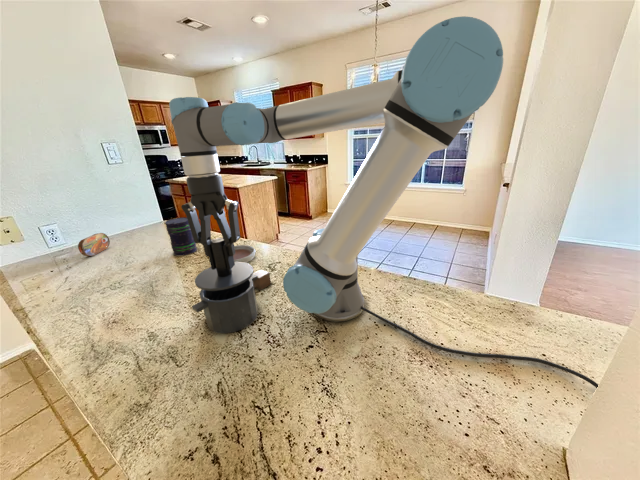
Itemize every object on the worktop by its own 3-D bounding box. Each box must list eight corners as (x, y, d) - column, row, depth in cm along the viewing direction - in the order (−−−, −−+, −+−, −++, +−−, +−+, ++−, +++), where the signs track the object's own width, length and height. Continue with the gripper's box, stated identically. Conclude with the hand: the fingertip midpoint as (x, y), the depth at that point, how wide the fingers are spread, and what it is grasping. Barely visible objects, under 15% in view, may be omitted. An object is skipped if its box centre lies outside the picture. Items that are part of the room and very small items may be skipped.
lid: (265, 272, 71) (259, 235, 67) (217, 299, 60) (207, 256, 56) (231, 261, 79) (225, 227, 75) (184, 282, 68) (174, 244, 64)
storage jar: (182, 247, 127) (174, 217, 121) (201, 247, 125) (194, 217, 120) (168, 255, 117) (159, 224, 112) (188, 256, 116) (180, 223, 111)
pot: (274, 307, 77) (270, 278, 74) (217, 347, 63) (209, 314, 60) (244, 293, 85) (239, 267, 81) (188, 326, 71) (179, 296, 67)
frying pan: (220, 239, 127) (263, 247, 113) (222, 245, 128) (264, 254, 114) (188, 252, 114) (232, 263, 99) (190, 258, 115) (234, 270, 100)
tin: (87, 258, 119) (80, 241, 116) (80, 259, 119) (73, 241, 116) (112, 246, 133) (106, 230, 130) (106, 246, 134) (100, 230, 130)
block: (271, 284, 90) (269, 272, 88) (261, 290, 86) (259, 278, 85) (262, 280, 92) (260, 269, 91) (252, 286, 89) (250, 274, 87)
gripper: (244, 171, 62) (259, 260, 71) (179, 174, 64) (201, 260, 73) (231, 175, 55) (248, 274, 64) (158, 179, 57) (185, 274, 66)
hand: (223, 266), depth 68 cm, fingers closed on lid, 4 cm apart
